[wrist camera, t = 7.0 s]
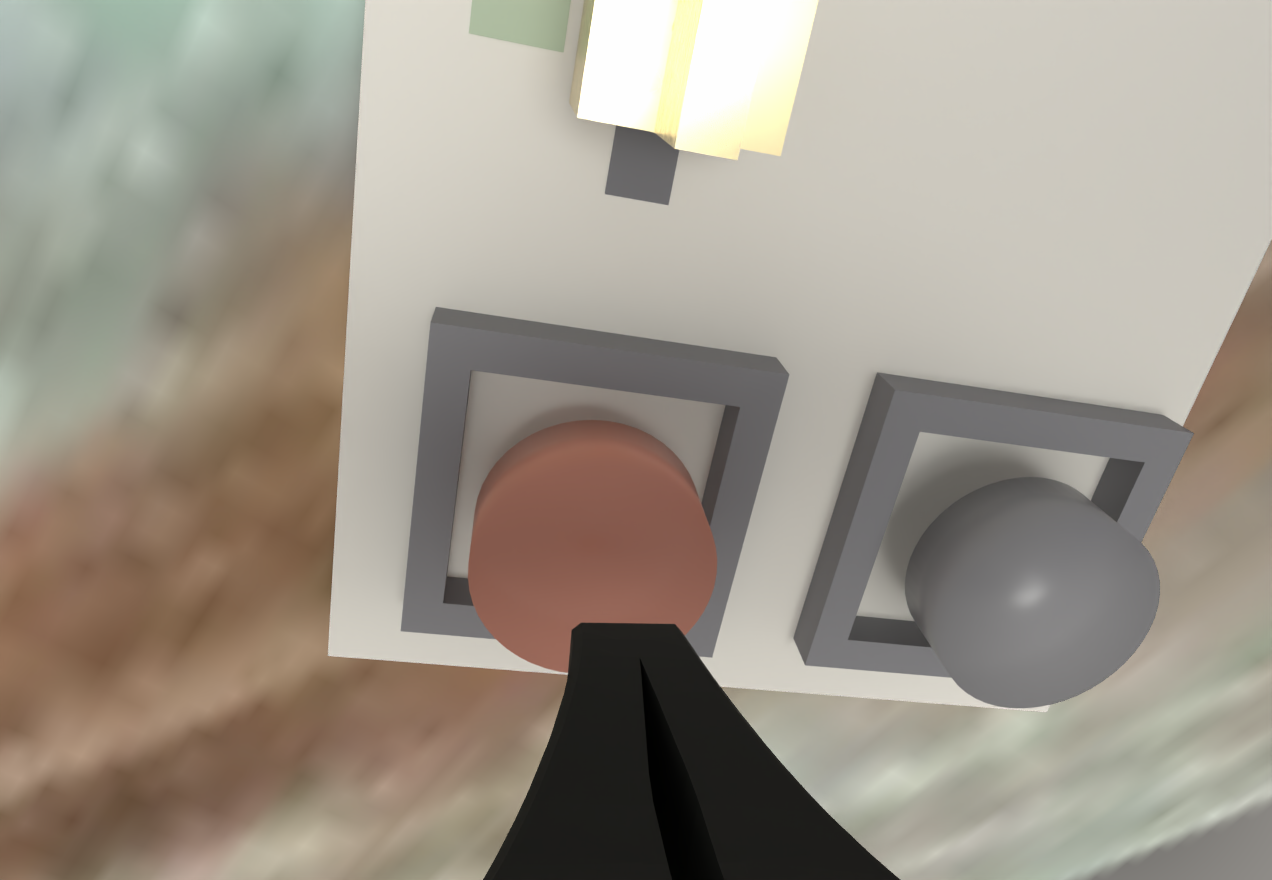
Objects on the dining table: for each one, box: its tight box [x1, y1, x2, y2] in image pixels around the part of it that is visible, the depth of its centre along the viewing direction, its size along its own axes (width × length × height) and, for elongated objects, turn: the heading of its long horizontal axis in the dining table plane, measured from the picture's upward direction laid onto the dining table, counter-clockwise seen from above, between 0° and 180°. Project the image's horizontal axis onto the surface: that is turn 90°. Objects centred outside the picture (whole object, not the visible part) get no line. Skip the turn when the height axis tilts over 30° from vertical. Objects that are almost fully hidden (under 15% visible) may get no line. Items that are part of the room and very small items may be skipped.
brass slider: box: [569, 0, 818, 160], centre depth 12 cm, size 3×3×5 cm
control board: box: [328, 0, 1272, 712], centre depth 17 cm, size 18×24×3 cm
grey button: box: [905, 477, 1160, 708], centre depth 18 cm, size 4×4×2 cm
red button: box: [468, 420, 717, 673], centre depth 16 cm, size 4×4×2 cm
